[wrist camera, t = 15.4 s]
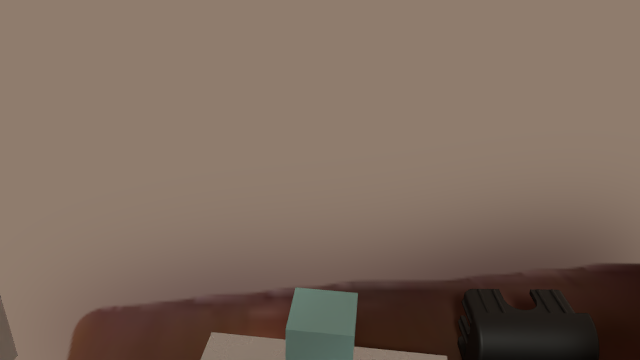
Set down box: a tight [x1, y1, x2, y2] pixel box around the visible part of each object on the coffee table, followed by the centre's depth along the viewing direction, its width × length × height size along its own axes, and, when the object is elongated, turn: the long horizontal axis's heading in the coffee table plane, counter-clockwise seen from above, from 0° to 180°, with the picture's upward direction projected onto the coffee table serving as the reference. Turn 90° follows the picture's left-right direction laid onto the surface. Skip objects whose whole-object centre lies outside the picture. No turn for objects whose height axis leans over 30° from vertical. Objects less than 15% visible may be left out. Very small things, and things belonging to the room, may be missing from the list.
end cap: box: [458, 289, 599, 360], centre depth 49 cm, size 10×7×7 cm
